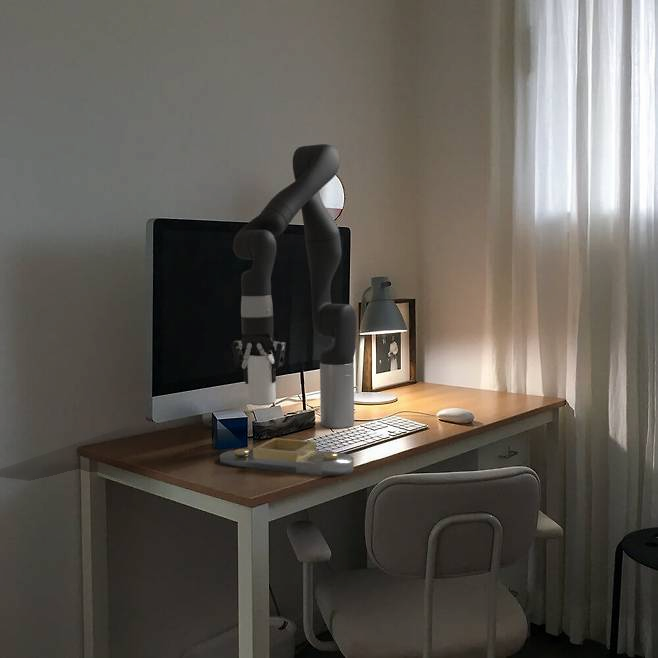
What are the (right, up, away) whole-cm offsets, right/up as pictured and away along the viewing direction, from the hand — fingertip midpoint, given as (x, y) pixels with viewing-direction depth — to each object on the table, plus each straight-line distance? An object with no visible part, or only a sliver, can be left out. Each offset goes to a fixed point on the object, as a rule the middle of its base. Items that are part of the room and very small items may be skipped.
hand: (259, 383), depth 186 cm
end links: (+7, -17, -13) cm, 23 cm away
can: (+1, -5, +1) cm, 5 cm away
